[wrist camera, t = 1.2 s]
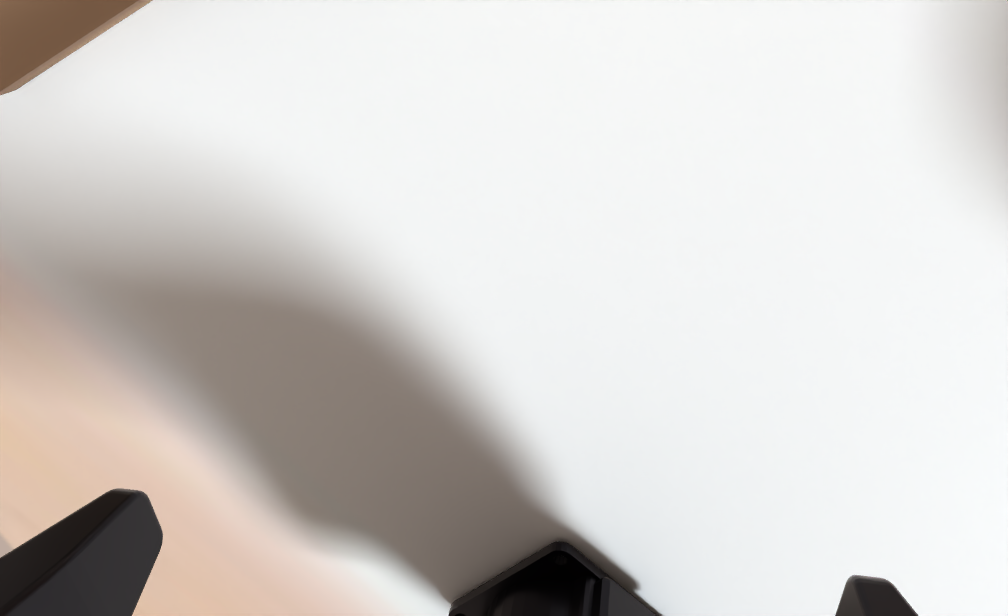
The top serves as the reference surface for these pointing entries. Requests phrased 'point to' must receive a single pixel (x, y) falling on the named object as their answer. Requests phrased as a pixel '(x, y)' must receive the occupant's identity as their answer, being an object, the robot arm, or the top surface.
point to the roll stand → (51, 33)
